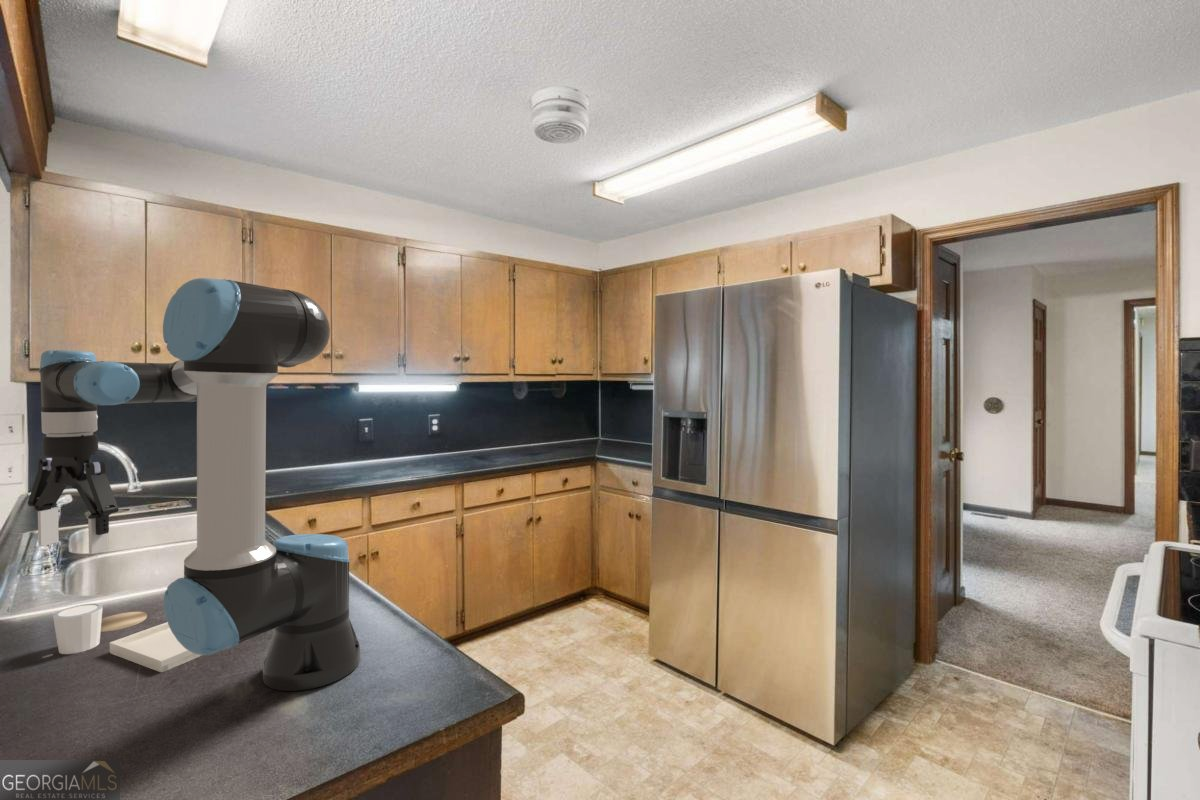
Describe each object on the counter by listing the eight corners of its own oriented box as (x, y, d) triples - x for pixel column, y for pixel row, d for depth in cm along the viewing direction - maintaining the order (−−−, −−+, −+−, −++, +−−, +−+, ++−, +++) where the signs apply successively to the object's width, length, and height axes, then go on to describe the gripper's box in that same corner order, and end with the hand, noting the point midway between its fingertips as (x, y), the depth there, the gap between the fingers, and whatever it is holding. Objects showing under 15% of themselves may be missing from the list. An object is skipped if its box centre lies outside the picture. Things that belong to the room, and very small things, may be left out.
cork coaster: (156, 618, 118) (156, 616, 118) (104, 636, 109) (104, 633, 109) (132, 611, 121) (132, 608, 121) (80, 628, 113) (80, 625, 113)
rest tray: (232, 642, 107) (232, 632, 107) (161, 672, 96) (161, 661, 96) (181, 626, 113) (181, 617, 113) (109, 653, 102) (109, 642, 102)
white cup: (100, 634, 110) (99, 599, 109) (107, 645, 105) (106, 609, 105) (51, 647, 104) (50, 610, 104) (57, 659, 100) (56, 621, 100)
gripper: (141, 435, 103) (143, 548, 104) (49, 429, 111) (52, 535, 111) (94, 439, 96) (97, 561, 97) (0, 432, 103) (3, 546, 104)
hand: (73, 547), depth 104 cm, fingers open, 13 cm apart
